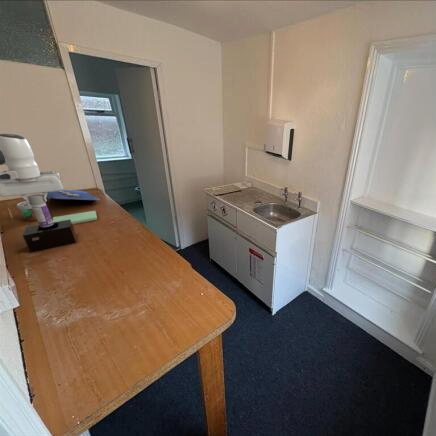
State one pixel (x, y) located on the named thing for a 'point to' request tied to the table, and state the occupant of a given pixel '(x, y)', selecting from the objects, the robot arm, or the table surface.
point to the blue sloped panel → (71, 195)
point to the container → (40, 210)
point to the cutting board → (77, 217)
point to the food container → (27, 211)
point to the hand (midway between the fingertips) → (37, 202)
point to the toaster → (49, 235)
